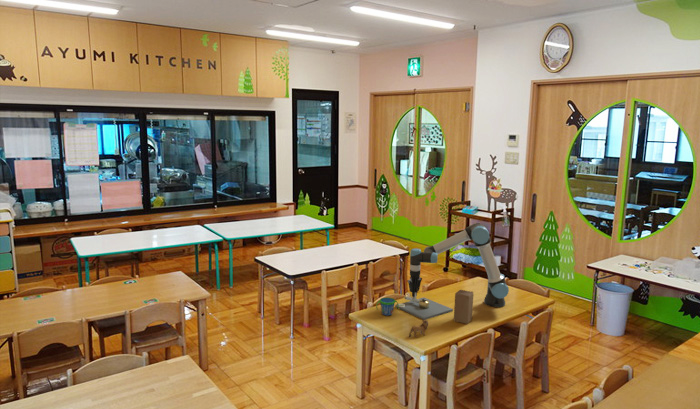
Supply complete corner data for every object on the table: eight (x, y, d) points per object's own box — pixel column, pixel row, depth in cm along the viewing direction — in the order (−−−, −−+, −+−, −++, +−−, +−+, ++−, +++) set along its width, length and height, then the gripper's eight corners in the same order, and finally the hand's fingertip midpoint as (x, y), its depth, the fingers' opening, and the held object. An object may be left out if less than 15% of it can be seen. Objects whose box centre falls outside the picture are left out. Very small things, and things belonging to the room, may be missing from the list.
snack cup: (376, 316, 338) (376, 302, 337) (375, 310, 349) (376, 297, 347) (398, 317, 338) (399, 302, 337) (397, 311, 349) (398, 297, 347)
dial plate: (452, 311, 351) (452, 308, 351) (422, 320, 333) (422, 318, 333) (422, 298, 375) (422, 296, 375) (393, 306, 357) (393, 304, 357)
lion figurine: (424, 331, 316) (425, 318, 314) (430, 334, 311) (430, 321, 310) (406, 336, 308) (407, 322, 307) (411, 339, 304) (412, 325, 302)
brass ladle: (430, 306, 354) (431, 299, 353) (425, 309, 349) (425, 301, 348) (406, 299, 368) (407, 291, 367) (401, 301, 363) (401, 294, 362)
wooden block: (467, 324, 328) (469, 296, 324) (453, 321, 333) (454, 293, 330) (472, 319, 336) (474, 291, 333) (458, 316, 341) (459, 289, 338)
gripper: (417, 267, 364) (416, 297, 368) (405, 270, 357) (404, 301, 361) (425, 269, 358) (424, 300, 362) (412, 272, 351) (411, 304, 355)
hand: (414, 300), depth 362 cm, fingers closed
